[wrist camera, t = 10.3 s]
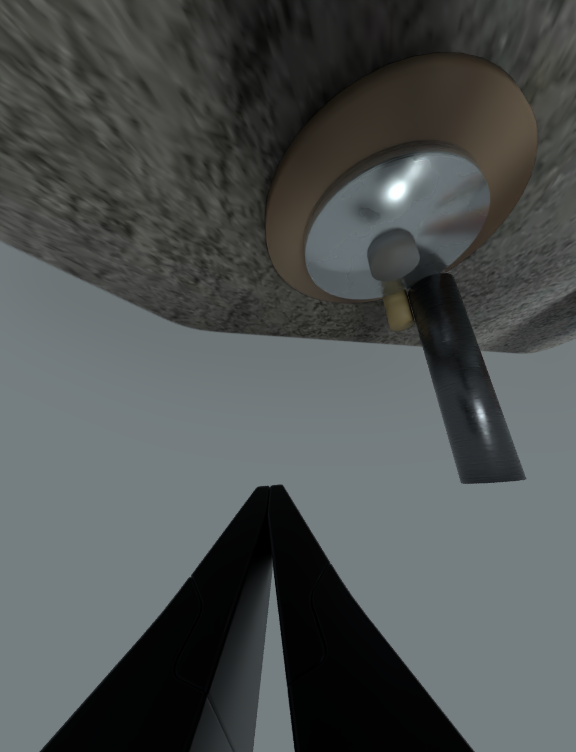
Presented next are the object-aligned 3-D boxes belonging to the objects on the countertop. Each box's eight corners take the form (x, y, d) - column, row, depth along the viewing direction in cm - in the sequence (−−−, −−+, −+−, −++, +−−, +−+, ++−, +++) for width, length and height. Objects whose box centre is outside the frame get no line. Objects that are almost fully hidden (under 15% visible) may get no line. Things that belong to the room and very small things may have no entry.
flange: (269, 244, 15) (290, 506, 11) (442, 76, 9) (651, 505, 5) (377, 313, 23) (417, 483, 18) (511, 243, 17) (618, 472, 12)
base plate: (625, 37, 10) (694, 108, 8) (440, 284, 22) (455, 329, 20) (246, 67, 10) (251, 144, 8) (273, 299, 22) (277, 345, 20)
